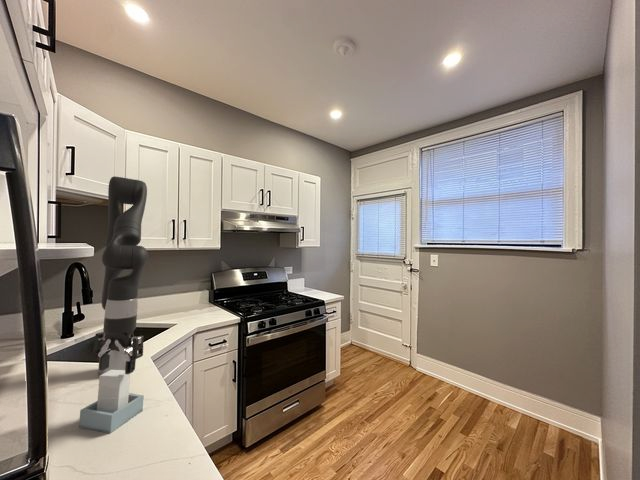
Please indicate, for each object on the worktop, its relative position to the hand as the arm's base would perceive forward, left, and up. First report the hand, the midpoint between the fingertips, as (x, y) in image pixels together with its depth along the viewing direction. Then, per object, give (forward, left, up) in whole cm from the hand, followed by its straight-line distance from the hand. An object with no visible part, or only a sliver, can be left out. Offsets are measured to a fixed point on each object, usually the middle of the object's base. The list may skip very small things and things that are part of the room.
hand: (116, 371), depth 75 cm
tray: (0, 0, -13) cm, 13 cm away
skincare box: (0, 0, -13) cm, 13 cm away
